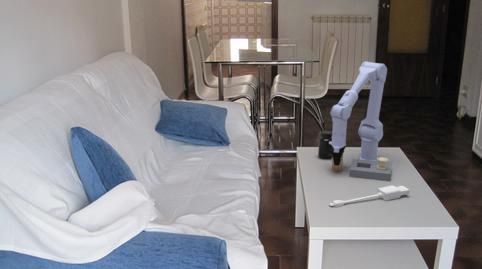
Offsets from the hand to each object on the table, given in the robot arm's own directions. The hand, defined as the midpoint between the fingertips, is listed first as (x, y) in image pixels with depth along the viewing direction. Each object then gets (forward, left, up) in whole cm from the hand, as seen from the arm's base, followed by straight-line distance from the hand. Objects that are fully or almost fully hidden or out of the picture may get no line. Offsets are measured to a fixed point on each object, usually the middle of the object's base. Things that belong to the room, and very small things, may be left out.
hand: (337, 163), depth 210 cm
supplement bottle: (-14, -7, -3) cm, 16 cm away
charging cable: (+28, +16, -3) cm, 32 cm away
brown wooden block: (0, 0, -3) cm, 3 cm away
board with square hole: (0, +14, -3) cm, 14 cm away
